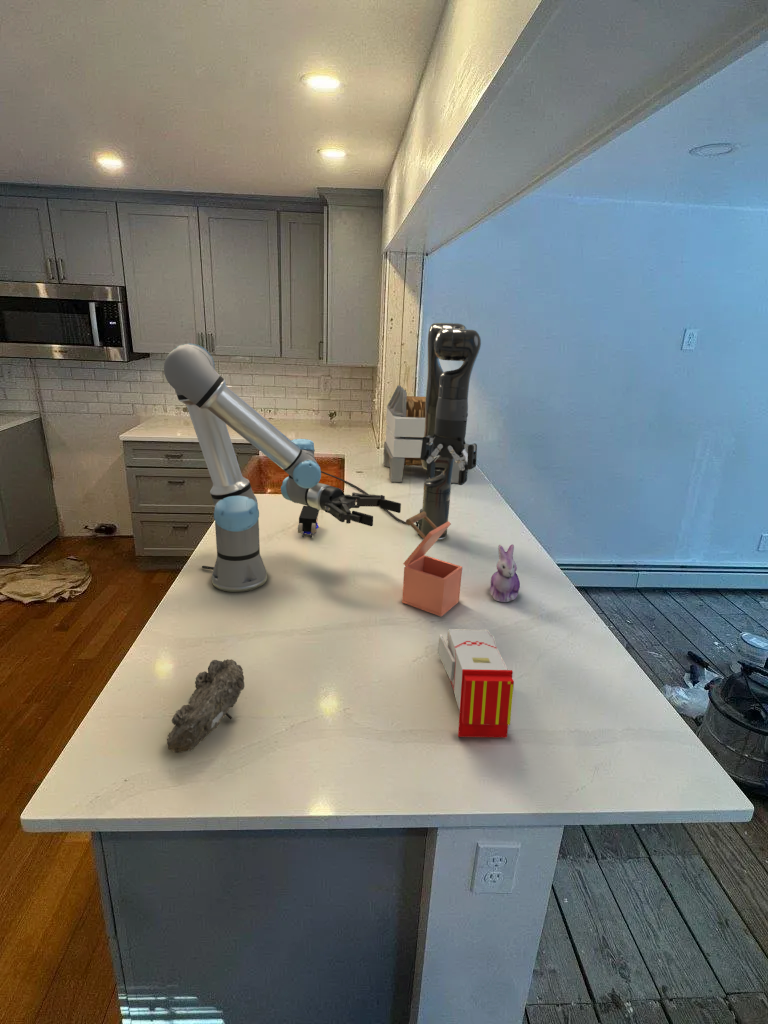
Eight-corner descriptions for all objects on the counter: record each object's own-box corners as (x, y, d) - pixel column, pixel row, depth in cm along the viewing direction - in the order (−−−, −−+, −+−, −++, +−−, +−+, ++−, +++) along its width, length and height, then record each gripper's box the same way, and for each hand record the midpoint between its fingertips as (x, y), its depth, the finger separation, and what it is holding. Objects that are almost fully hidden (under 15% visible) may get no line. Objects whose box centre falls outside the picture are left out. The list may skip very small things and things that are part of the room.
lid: (451, 523, 150) (430, 502, 152) (432, 535, 142) (410, 512, 144) (425, 554, 157) (405, 533, 159) (405, 566, 149) (385, 544, 151)
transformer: (382, 463, 289) (386, 382, 275) (445, 464, 293) (451, 384, 279) (390, 482, 257) (394, 392, 243) (460, 483, 261) (468, 394, 247)
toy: (488, 613, 130) (523, 677, 101) (484, 667, 133) (517, 744, 104) (435, 612, 130) (455, 676, 101) (432, 666, 133) (451, 743, 103)
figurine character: (316, 543, 192) (320, 523, 205) (316, 523, 188) (320, 504, 202) (297, 543, 191) (302, 522, 205) (296, 523, 188) (301, 503, 202)
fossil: (192, 660, 117) (244, 628, 112) (224, 691, 120) (276, 661, 115) (142, 746, 98) (202, 712, 93) (182, 779, 101) (242, 748, 96)
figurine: (502, 606, 153) (509, 556, 148) (479, 590, 162) (485, 541, 157) (529, 600, 157) (536, 550, 152) (505, 584, 166) (512, 537, 161)
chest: (459, 601, 155) (462, 566, 152) (441, 616, 147) (444, 580, 144) (421, 588, 161) (423, 554, 158) (401, 602, 153) (404, 567, 150)
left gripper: (351, 499, 177) (409, 515, 166) (297, 521, 157) (359, 540, 146) (352, 476, 174) (411, 490, 163) (297, 496, 155) (359, 513, 144)
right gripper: (418, 414, 137) (413, 478, 142) (471, 422, 129) (465, 490, 135) (433, 410, 143) (428, 472, 148) (485, 418, 135) (478, 483, 141)
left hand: (386, 514), depth 155 cm, fingers open, 13 cm apart
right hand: (446, 480), depth 142 cm, fingers open, 8 cm apart
